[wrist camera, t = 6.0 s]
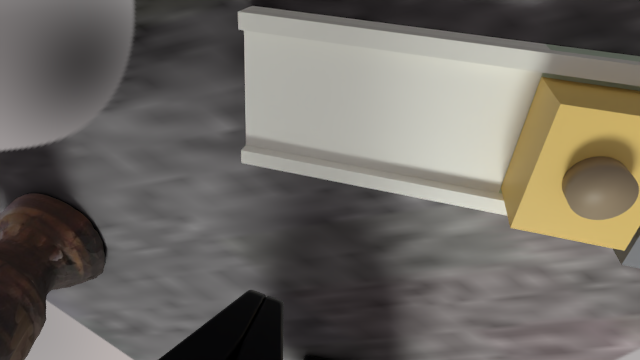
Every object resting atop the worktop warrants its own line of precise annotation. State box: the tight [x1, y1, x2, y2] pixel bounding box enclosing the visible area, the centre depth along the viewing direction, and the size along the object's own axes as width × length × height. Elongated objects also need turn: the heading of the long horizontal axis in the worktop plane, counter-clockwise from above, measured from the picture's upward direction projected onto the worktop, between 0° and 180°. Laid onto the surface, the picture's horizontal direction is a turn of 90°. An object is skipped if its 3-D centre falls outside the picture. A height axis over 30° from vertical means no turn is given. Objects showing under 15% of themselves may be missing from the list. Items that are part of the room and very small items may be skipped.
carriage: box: [501, 77, 640, 251], centre depth 15 cm, size 5×4×4 cm
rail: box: [238, 6, 640, 268], centre depth 17 cm, size 7×18×4 cm, turn 84°
